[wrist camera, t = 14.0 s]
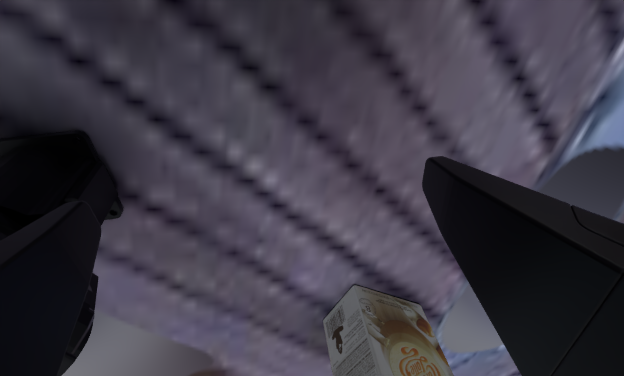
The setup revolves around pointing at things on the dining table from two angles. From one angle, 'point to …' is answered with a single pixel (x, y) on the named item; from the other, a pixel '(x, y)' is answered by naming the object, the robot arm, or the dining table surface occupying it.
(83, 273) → the robot arm
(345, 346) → the coffee box
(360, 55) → the dining table surface
